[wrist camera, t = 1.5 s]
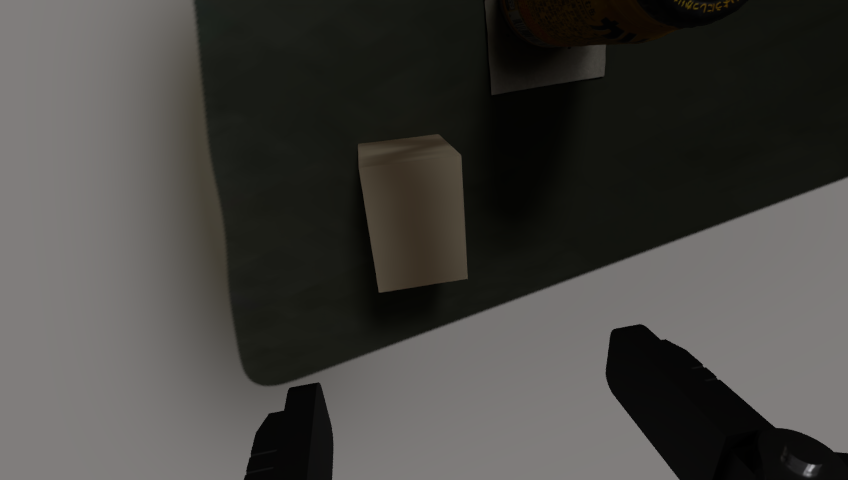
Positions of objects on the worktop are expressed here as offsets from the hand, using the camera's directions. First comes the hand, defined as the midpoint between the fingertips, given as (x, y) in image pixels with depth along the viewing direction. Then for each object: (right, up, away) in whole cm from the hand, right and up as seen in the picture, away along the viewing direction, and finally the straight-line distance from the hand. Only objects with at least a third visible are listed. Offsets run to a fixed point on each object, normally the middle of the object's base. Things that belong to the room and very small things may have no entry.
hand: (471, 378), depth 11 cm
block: (-2, +7, +15) cm, 17 cm away
